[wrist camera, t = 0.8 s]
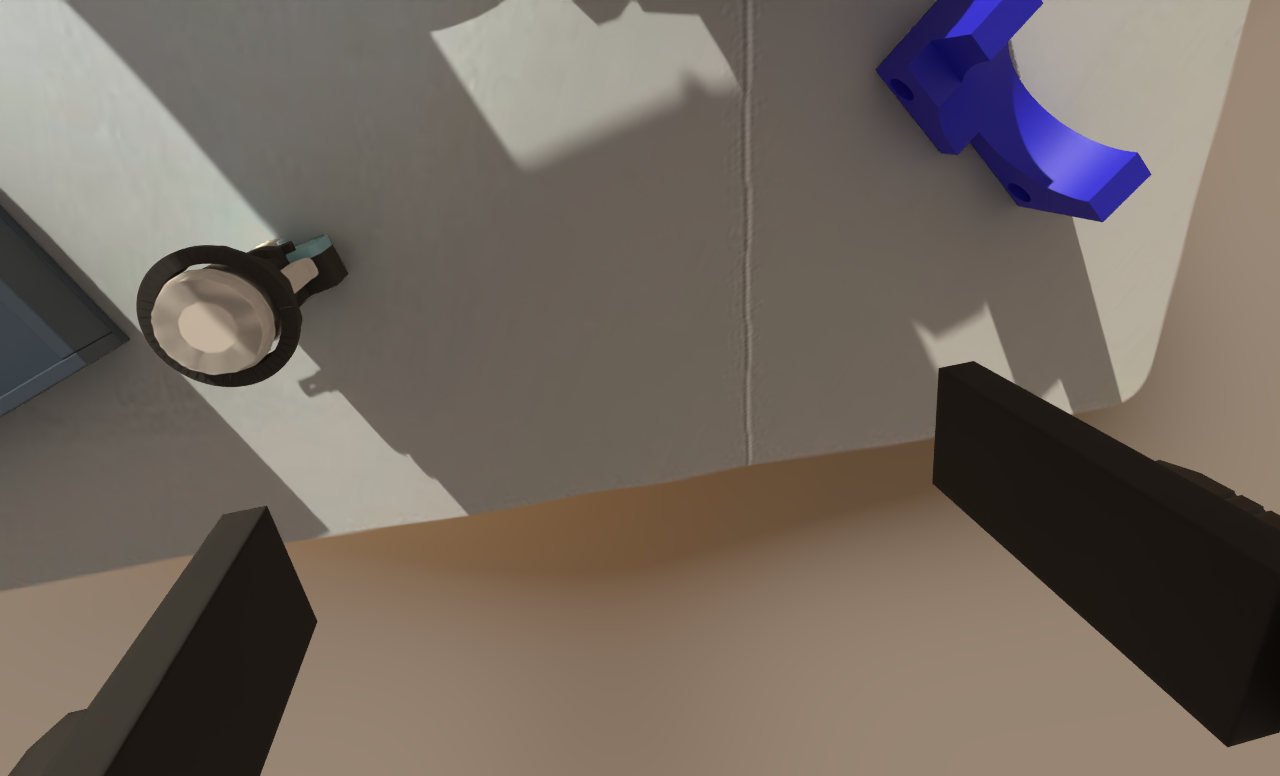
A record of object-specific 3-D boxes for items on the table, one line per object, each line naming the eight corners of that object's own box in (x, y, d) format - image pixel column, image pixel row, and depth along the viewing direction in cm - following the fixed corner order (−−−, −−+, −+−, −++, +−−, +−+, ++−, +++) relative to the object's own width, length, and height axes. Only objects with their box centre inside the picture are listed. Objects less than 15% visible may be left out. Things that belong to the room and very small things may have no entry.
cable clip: (875, 70, 34) (945, 62, 29) (940, -4, 33) (1025, -26, 28) (998, 226, 39) (1079, 245, 33) (1059, 164, 38) (1151, 174, 32)
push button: (245, 344, 34) (148, 431, 25) (181, 245, 31) (48, 300, 22) (370, 296, 34) (318, 365, 25) (315, 194, 32) (236, 229, 23)
